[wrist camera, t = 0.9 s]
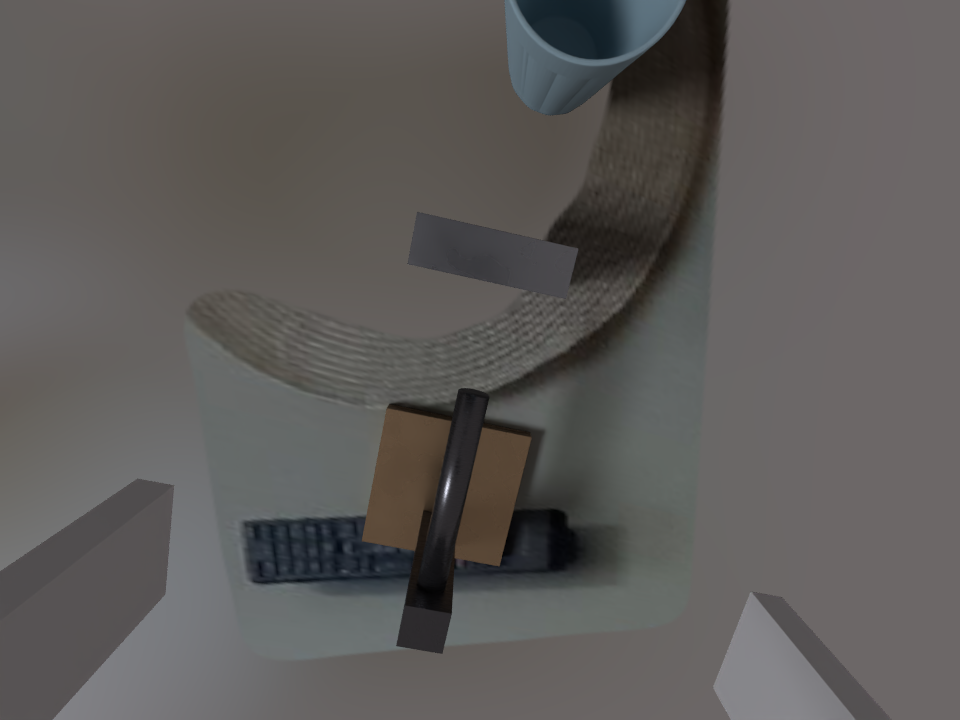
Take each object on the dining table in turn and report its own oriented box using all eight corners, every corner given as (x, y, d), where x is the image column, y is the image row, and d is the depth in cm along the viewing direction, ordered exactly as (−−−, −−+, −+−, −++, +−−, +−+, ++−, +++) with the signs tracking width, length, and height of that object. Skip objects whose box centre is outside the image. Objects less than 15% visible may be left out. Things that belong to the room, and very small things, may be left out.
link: (430, 226, 30) (417, 211, 23) (551, 253, 31) (578, 248, 23) (423, 264, 31) (407, 263, 23) (542, 291, 31) (566, 298, 24)
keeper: (400, 345, 32) (367, 382, 22) (544, 375, 32) (578, 425, 22) (365, 533, 34) (320, 646, 24) (498, 557, 35) (510, 678, 25)
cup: (590, -28, 28) (660, -198, 18) (634, 102, 29) (722, 15, 19) (472, 28, 28) (473, -105, 18) (521, 154, 30) (547, 96, 20)
